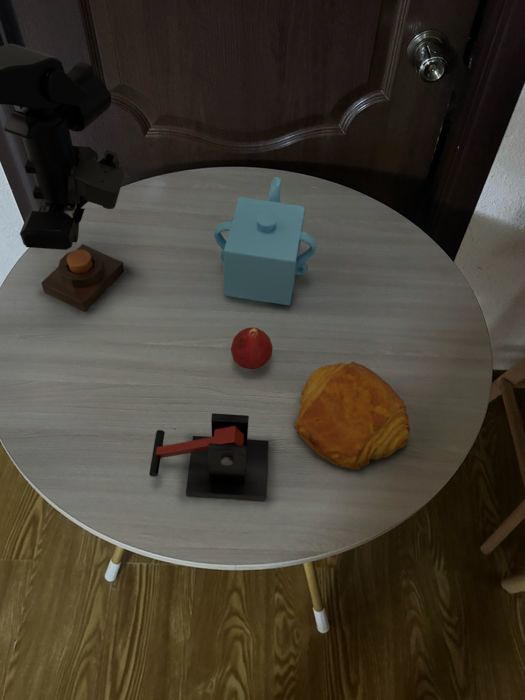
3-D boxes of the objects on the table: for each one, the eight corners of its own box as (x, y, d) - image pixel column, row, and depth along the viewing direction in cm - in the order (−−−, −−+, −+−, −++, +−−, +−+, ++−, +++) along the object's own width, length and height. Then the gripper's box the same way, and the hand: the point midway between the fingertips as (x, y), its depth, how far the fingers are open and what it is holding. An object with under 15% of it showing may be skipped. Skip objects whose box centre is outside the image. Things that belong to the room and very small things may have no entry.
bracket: (186, 496, 77) (181, 461, 70) (193, 439, 82) (189, 400, 74) (265, 501, 78) (270, 466, 70) (268, 444, 82) (272, 406, 74)
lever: (154, 479, 76) (144, 471, 74) (161, 436, 80) (152, 428, 78) (242, 465, 72) (232, 456, 70) (245, 420, 76) (236, 411, 74)
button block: (85, 312, 94) (80, 295, 91) (44, 292, 96) (38, 274, 93) (124, 271, 100) (121, 254, 96) (84, 253, 102) (80, 235, 98)
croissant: (342, 371, 93) (347, 333, 87) (424, 435, 84) (435, 398, 78) (270, 423, 86) (269, 385, 80) (351, 497, 78) (356, 461, 72)
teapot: (305, 314, 96) (315, 255, 86) (207, 299, 97) (205, 238, 87) (317, 236, 107) (327, 175, 97) (229, 223, 108) (229, 161, 97)
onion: (236, 383, 88) (237, 350, 81) (226, 352, 91) (226, 317, 85) (275, 376, 89) (279, 342, 83) (264, 345, 92) (267, 310, 86)
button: (82, 277, 94) (80, 269, 92) (64, 268, 95) (61, 260, 93) (97, 263, 96) (95, 254, 94) (79, 254, 97) (76, 246, 95)
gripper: (98, 202, 73) (117, 291, 85) (126, 112, 84) (139, 202, 96) (4, 195, 73) (36, 286, 85) (44, 106, 84) (67, 198, 96)
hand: (74, 240), depth 91 cm, fingers closed
